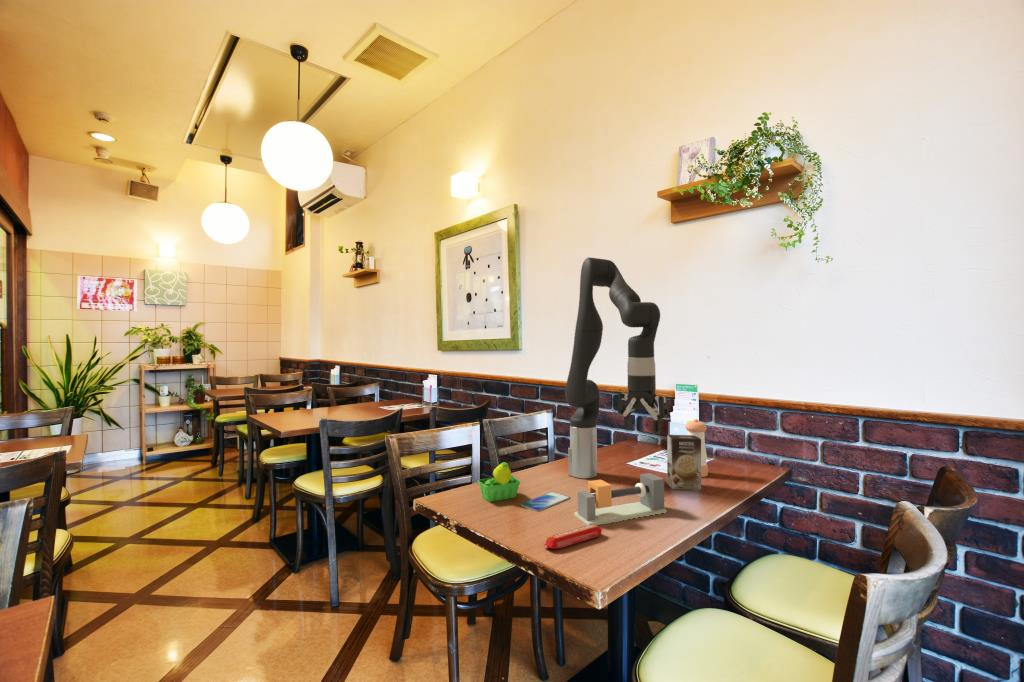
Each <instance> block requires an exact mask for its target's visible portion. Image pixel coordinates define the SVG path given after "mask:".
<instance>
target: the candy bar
mask: <svg viewBox="0 0 1024 682" xmlns="http://www.w3.org/2000/svg"><path fill="white" fill-rule="evenodd" d="M603 530H604V528H603V527H600V525H585V526H581V527H579V528H574V529H571V530H568V531H565V532H561V533H557V534H554V535H551V536H549V537H547V538H546V540H545V543H544V544H543V545H542V546H546V547H547V548H548V549H552V550H558V549H563V548H564V547H565V548H566V547H569V546H571V545H576V544H579V543H582V542H584V541H588V540H591V539H594V538H596V537H597V538H598V537H599V536H601V534H602V532H603Z"/></svg>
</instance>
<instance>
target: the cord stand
mask: <svg viewBox="0 0 1024 682" xmlns="http://www.w3.org/2000/svg"><path fill="white" fill-rule="evenodd" d="M639 481H640V482H638V483H636V484H635V486H632V487H625V488H624V487H623V488H617V489H611V499H615V498H621V497H627V496H634V495H637V496H638V497H639V498H640V501H635V502H631V503H623V504H618V505H612V506H611V507H605V508H599V509H598V508H596V503H595V501H596V493H589V492H588V490H581V491H577V511H574V512H573V513H574V514H573V515H574V516H575V517H576V518H577V519H579V520H580V521H581V522H583V523H584V524H585V525H586V526H588V525H596V526H600V525H606V524H611V523H612V522H613V523H616V522H617V523H618V522H624V521H628V519H630V520H634V519H633V518H635V519H639V518H638V517H641V518H644V517H643V516H647V517H650V516H649V515H653V516H656V515H655V514H658V515H662V514H661V513H664V514H667V513H666V512H668V511H667V510H668V509H666V508H665V478H663V477H660V476H658V475H656V474H653V473H651V472H648V473H647V472H646V473H642V474H640V475H639ZM623 520H624V521H623Z"/></svg>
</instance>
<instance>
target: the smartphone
mask: <svg viewBox="0 0 1024 682" xmlns="http://www.w3.org/2000/svg"><path fill="white" fill-rule="evenodd" d="M568 499H569V500H571V497H570V496H568V495H564V494H562V493H559V492H555V491H551V492H548V493H545V494H542V495H540V496H537V497H535V498H533V499H530V500H527V501H524V502H522V503H520V507H522V508H525V509H527V510H531V511H533V512H538V513H539V511H540V512H542V511H544V509H545V510H547V509H549V508H552V507H554V506H556V504H557V505H558V503H559V504H561V503H563V501H564V502H566V501H568ZM565 500H566V501H565ZM551 506H552V507H551Z"/></svg>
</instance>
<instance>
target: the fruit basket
mask: <svg viewBox="0 0 1024 682" xmlns="http://www.w3.org/2000/svg"><path fill="white" fill-rule="evenodd" d="M492 476H493V477H488V478H481V479H478V480H477V482H478V484H479V488H480V493H481V496H482V498H483V499H484V500H486V501H487V502H489V503H491V502H495V501H501V500H508V499H514V498H516V497H517V493H518V490H519V486H520V483H521V480H519V479H518V478H516V477H514V476H513V475H512V471H511V469H510V465H509V464H508V462H501V463H500V464H499V465H498V466H496V467H495V468H494V470H493V472H492Z"/></svg>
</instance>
